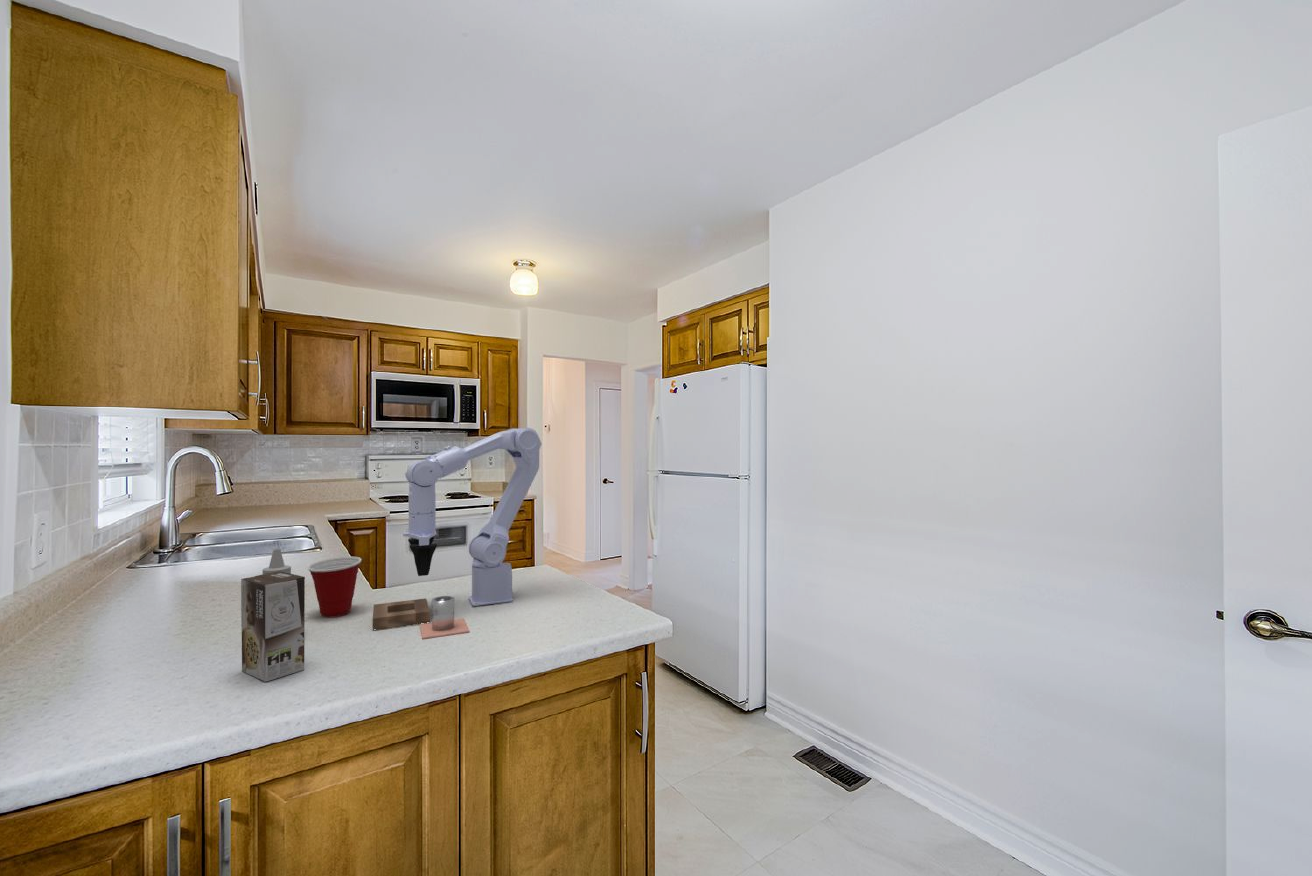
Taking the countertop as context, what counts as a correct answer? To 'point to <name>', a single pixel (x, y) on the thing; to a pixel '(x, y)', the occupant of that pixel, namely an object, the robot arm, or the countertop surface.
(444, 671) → the countertop surface
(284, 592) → the coffee box
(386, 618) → the socket block
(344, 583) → the plastic cup
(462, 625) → the rubber mat
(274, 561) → the squeeze bottle
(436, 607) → the metal plug
